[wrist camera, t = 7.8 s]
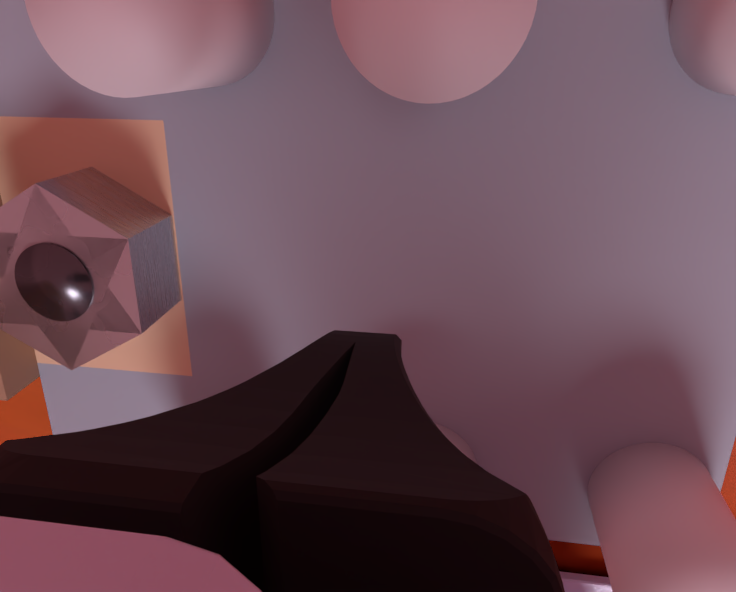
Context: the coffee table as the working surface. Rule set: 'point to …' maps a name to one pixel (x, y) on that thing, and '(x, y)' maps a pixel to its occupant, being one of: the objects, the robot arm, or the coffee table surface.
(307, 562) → the robot arm
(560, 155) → the spacer board
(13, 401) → the coffee table surface
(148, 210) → the hexagonal block with ball
